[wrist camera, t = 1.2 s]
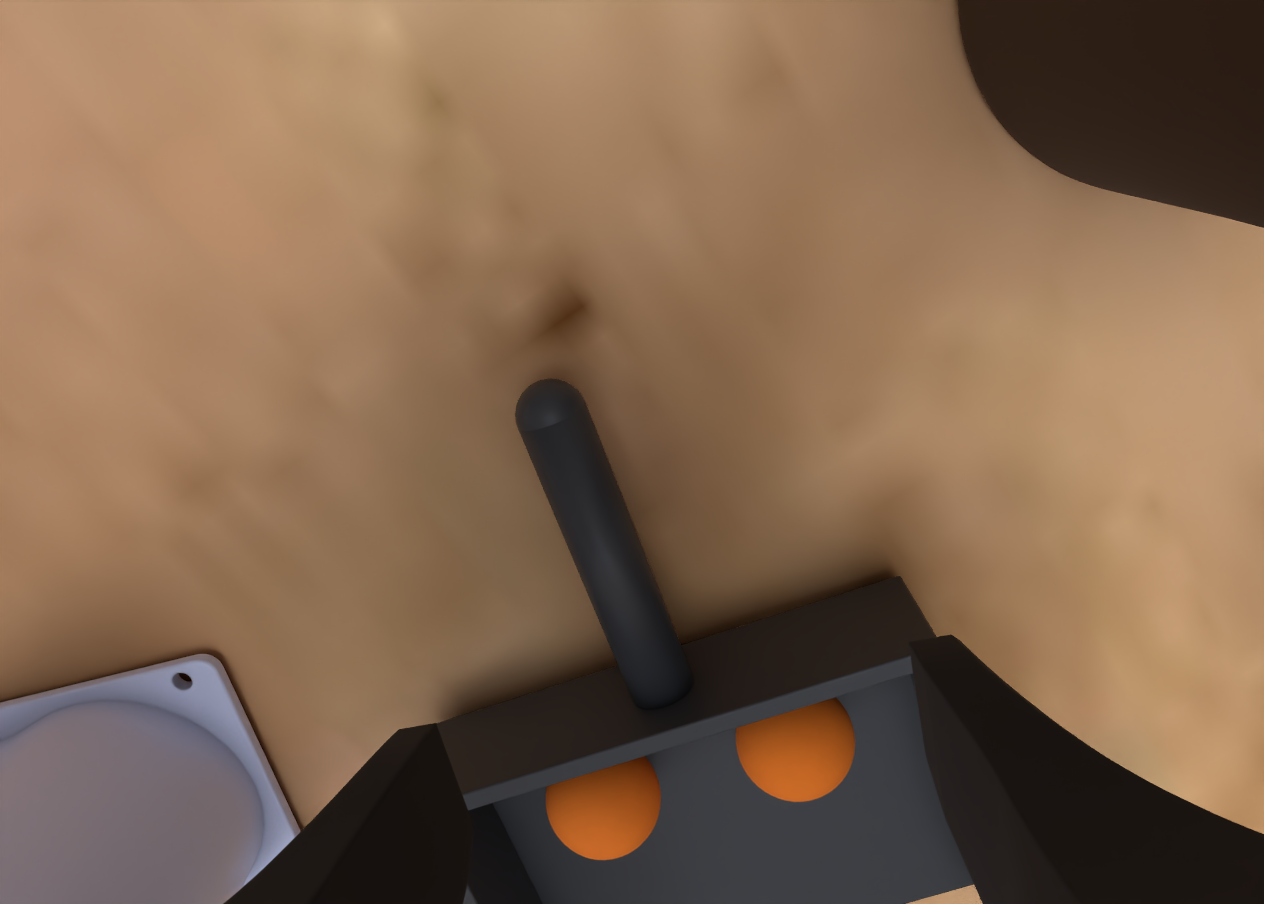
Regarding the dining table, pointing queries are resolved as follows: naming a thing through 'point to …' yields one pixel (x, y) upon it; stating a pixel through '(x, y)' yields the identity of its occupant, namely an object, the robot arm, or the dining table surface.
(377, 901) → the robot arm
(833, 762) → the ball
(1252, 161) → the olive oil
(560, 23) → the dining table surface
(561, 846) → the scoop pan
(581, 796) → the ball
